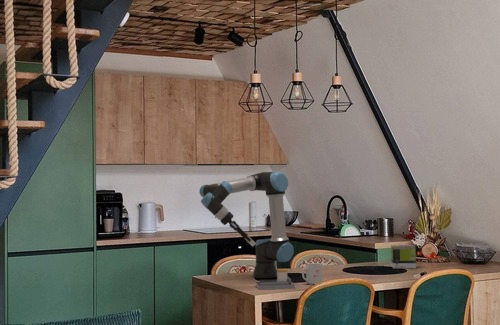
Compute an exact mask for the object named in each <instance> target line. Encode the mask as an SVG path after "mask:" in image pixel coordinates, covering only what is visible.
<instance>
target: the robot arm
mask: <svg viewBox="0 0 500 325" xmlns="http://www.w3.org/2000/svg"><path fill="white" fill-rule="evenodd" d="M288 187H289V180H288V177H287V176H286V174H285V173H283V172H280V171H263V172H262V171H261V172H258V173H254V174H251V175H250V174H249V175H247V176H246V177H244V178H238V179H237V178H236V179H233V180H232V179H231V180H228V181H227V180H225V181H222V182H216V183H212V184H211V183H210V184H203V185H201V186H200V188H199V195H200V197H202V198H201V200H200V203H201V205H203V206H204V207H205V209H207V210H208V212H210V213H211V214H212V215H213V216H214V218H215V219H217V220H219V221H220V223H221V224H222V225H223V226H227V224H229V225H228V226H229V227H230V228H231V229H233V230H234V231H236V232H237V233H238V234H239V235H240V237H242V238H243V239H242V240H246V242H247V243H248V244H249V245H250V246H251V247H252V248H253V247H254V246H255V266H254V269H253V274H252V276H253V278H257V279H258V278H259V279H272V278H277V269H278V268H277V267H276V262H279V263H282V262H283V263H287V262H289V261H290V260H291V258H292V257H293V255H294V253H295V252H294V250H295V249H294V246H293V244H292V243H290V239H289V237H288V236H287V230H286V219H285V208H284V196H285V194H286V190H287V189H288ZM245 191H249V192H255V191H260V192H265V196H266V197H267V198H268V204H269V217H270V228H271V229H270V230H271V237H270V238H263V239H257V240H256V241H254V240H253V239H252V238H251V237H250V235H248V233H246V232H245V231H244V230H243V229H242V228H241V227H240V225H239V224H238V223H237V222H236V221H235V220H232V219H233V218H234V214H233V213H232V212H231V211H229V209H228V208H226V206H224V205H223V204H222V203H223V201H225V199H226V198H228V196H229V195H230V194H235V193H240V192H245Z"/></svg>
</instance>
